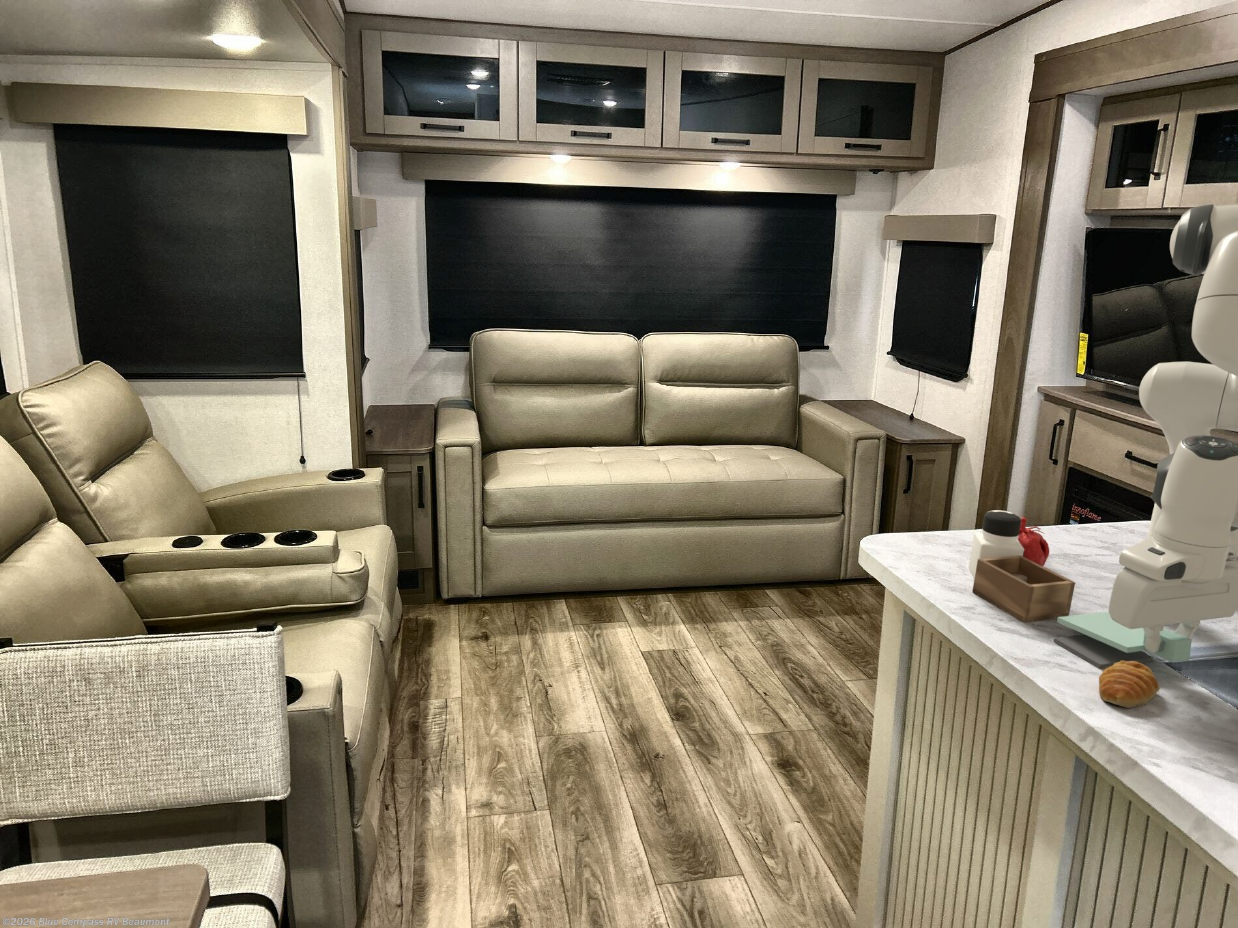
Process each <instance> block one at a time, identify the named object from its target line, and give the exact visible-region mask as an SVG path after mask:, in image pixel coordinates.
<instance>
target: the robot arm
mask: <svg viewBox="0 0 1238 928" xmlns="http://www.w3.org/2000/svg"><path fill="white" fill-rule="evenodd" d="M1169 251H1170V255H1171V258H1172V264H1173V265H1174V266H1175V268H1177V269H1178V270H1179V271H1180V272H1183V273H1186V274H1189V275H1193V276H1197V277H1199V276H1200V275H1201V274H1202V275H1203V277H1202V280H1201V284H1200V287H1199V290H1198V294H1197V297H1196V302H1195V304H1194V310H1193V316H1192V323H1191V339H1192V343H1193V345H1194V347H1195V348H1196V350H1197V351H1198V352H1199V354H1200V355H1201V356H1203V358H1204V359H1206V360H1207V361H1208V362H1210V363H1204V362H1203V363H1202V362H1195V361H1194V362H1193V361H1171V362H1159V363H1157V364H1155V365H1153V366H1152V367H1151V368H1150V369H1149V370H1147V372H1146V373H1145V375H1144V376H1143V377H1142V380H1140V381H1141V382H1140V385H1139V387H1138V388H1139V390H1138V396H1139V402H1140V405H1141V407H1142V409H1143V410H1144V412H1145V413H1146V414H1147V415H1148V416H1150V417H1151V419H1153V420H1154V421H1155V422H1156V424H1157V425H1158V426H1159V428H1160V429H1161V430H1162V433H1163V434H1164V436H1165V439H1166V441H1167V444H1168V448H1169V455H1167V456H1166V457H1164V458H1162V459H1161V460H1159V461H1158V463H1157V466H1156V478H1155V481H1154V482H1155V483H1154V487H1153V492H1152V494H1151V495H1150V499H1152V501H1153V502H1154V504H1155V503H1156V504H1157V506H1158V507H1159V508H1160V509H1161V510H1162V511H1161V515H1160V518H1159V520H1158V521H1157V523H1156V525H1155V527H1154V532H1153V536H1150V537H1148V536H1147V537H1148V538H1147V537H1146V538H1145V539H1144V540H1142V541H1140V542H1138V543H1136V544H1134V545H1131V546H1130V547H1127V548H1125V549H1124V550H1122V551H1121V552H1120V554H1119V557H1118V563H1119V565H1121V566H1123V567H1122V569H1120V570H1118V573H1117V574H1116V576H1115V579H1114V580H1113V581H1114V582H1113V586H1112V590H1111V595H1110V599H1109V605H1108V613H1109V614H1110V617H1111V619H1112V620H1113V621H1115V622H1117V623H1118V624H1120V625H1122V626H1124V627H1126V628H1129V629H1137V628H1143V629H1144V632H1145V635H1146V642H1145V648H1146V649H1147V650H1149V651H1150V652H1152V653H1156V652H1162V651H1163V649H1164V648H1163V647H1164V645H1165V641H1164V640H1162V639H1161V637H1160V631H1163V628H1164V629H1165V626H1166V625H1169V626H1170V625H1176V624H1178V626H1177V628H1176V630H1175V632H1174V633H1177V634H1180V635H1182V636H1185V637H1187V638H1190V639H1191V637H1192V636H1193V635H1194V634H1195V633H1196V631H1197V630H1198V629H1199V627H1200V623H1201V621H1205V620H1206V621H1207V620H1217V619H1222V618H1231V617H1232V616H1234V615H1235V614H1236V612H1237V611H1238V443H1237V442H1235V441H1232V440H1230V439H1228V438H1225V437H1221V436H1215V435H1211V431H1212V429H1213V430H1214V429H1215V430H1216V429H1217V430H1224V431H1225V430H1226V431H1233V432H1238V204H1226V205H1216V206H1215V205H1214V204H1205V205H1199V206H1194V207H1190V208H1189V209H1188V210H1187V211H1185V212H1184V213H1183V214H1182V215H1181V217H1180V219H1179V220H1178V222H1177V223H1176V224H1175V226H1174V228H1173V230H1172V233H1171V235H1170V241H1169ZM1150 652H1149V653H1150ZM1152 653H1151V654H1152Z"/></svg>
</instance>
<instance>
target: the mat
mask: <svg viewBox="0 0 1238 928" xmlns="http://www.w3.org/2000/svg"><path fill="white" fill-rule="evenodd" d="M1052 642H1053V643H1055V644H1057V645H1059V646H1060V647H1062V648H1063V649H1065V650H1067V651H1069V652H1070V653H1073V654H1074V655H1076V656H1077V657H1078V658H1081V659H1082V660H1084V661H1086V662H1087V663H1090V664H1091V665H1093V666H1094V667H1096V668H1098V669H1106V668H1108V667H1110V666H1113V665H1114V663H1117V662H1120V661H1122V660H1124V661H1127V662H1128V661H1136V662H1139V663H1141V664H1143V663H1146V662H1147V663H1148V662H1153V661H1154V656H1152V655H1150V654H1148V653H1147V652H1146V651H1145V652H1144V651H1137V652H1129V653H1126V652H1124V651H1122V650H1119V649H1117V648H1115V647H1112V646H1110V645H1108V644H1106V643H1103V642H1101V641H1099V640H1097V639H1094V638H1092V637H1090V636H1087V635H1085V634H1083V633H1080V634H1075V635H1066V636H1059V637H1054V638H1053V641H1052Z"/></svg>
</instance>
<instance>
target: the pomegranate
mask: <svg viewBox="0 0 1238 928" xmlns="http://www.w3.org/2000/svg"><path fill="white" fill-rule="evenodd" d="M1020 519H1021V526H1020V532H1019V537H1018V541H1019V542H1020V544H1021V545H1022V547H1023V548H1024V555H1023V557H1025V558H1027V559H1029V560H1031V561H1033V562H1035V563H1037V564H1039V565H1041V566H1043V567H1045V565H1046V562H1047V560H1048V558H1049V556H1050V546H1049V544H1048V542H1047V540H1046V539H1045V538H1044V537H1043V535H1042V534H1045V533H1044V532H1043V531H1041V529H1042V528H1041V527H1040V528H1039V527H1038V526H1036V525H1035V526H1031V527H1026V525H1027V517H1025V516H1023V517H1020ZM1039 532H1040V533H1042V534H1040V533H1039Z"/></svg>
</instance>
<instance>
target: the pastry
mask: <svg viewBox="0 0 1238 928" xmlns="http://www.w3.org/2000/svg"><path fill="white" fill-rule="evenodd" d="M1098 677H1099V678H1098V686H1099V687H1098V693H1099V697H1100V699H1102V701H1103V702H1106V703H1107V702H1109V703H1112V704H1113V705H1118V706H1120V707H1123V708H1126V709H1132V708H1134V707H1139V706H1140V707H1141V706H1146V705H1147V704H1148V702H1150V701H1151V700H1152V699H1153V698H1154V697H1155V696H1156V694H1157V693H1158V692H1159V691H1160V687H1161V686H1160V684H1158V680H1157V679H1156V677H1155V675H1154V673H1153V670H1152V669H1150V667H1148V666H1146V665H1145V664H1143V663H1139V662H1136V661H1128V662H1127V661H1124V660H1122V661H1120V662H1117V663H1114V665H1113V666H1110V667H1106V668H1104V669H1103V670H1102V673H1101V674H1100V675H1099V676H1098ZM1133 706H1134V707H1133Z"/></svg>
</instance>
